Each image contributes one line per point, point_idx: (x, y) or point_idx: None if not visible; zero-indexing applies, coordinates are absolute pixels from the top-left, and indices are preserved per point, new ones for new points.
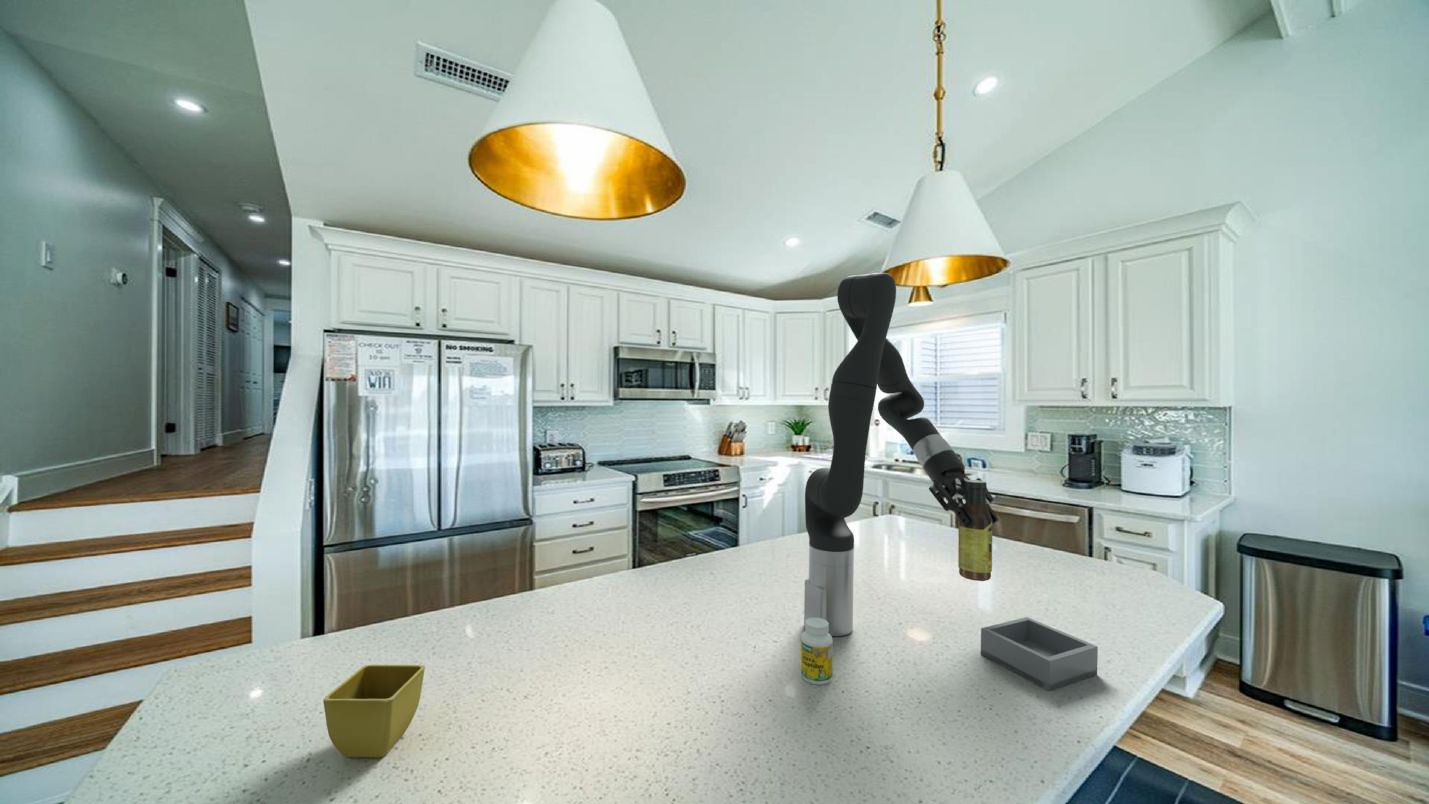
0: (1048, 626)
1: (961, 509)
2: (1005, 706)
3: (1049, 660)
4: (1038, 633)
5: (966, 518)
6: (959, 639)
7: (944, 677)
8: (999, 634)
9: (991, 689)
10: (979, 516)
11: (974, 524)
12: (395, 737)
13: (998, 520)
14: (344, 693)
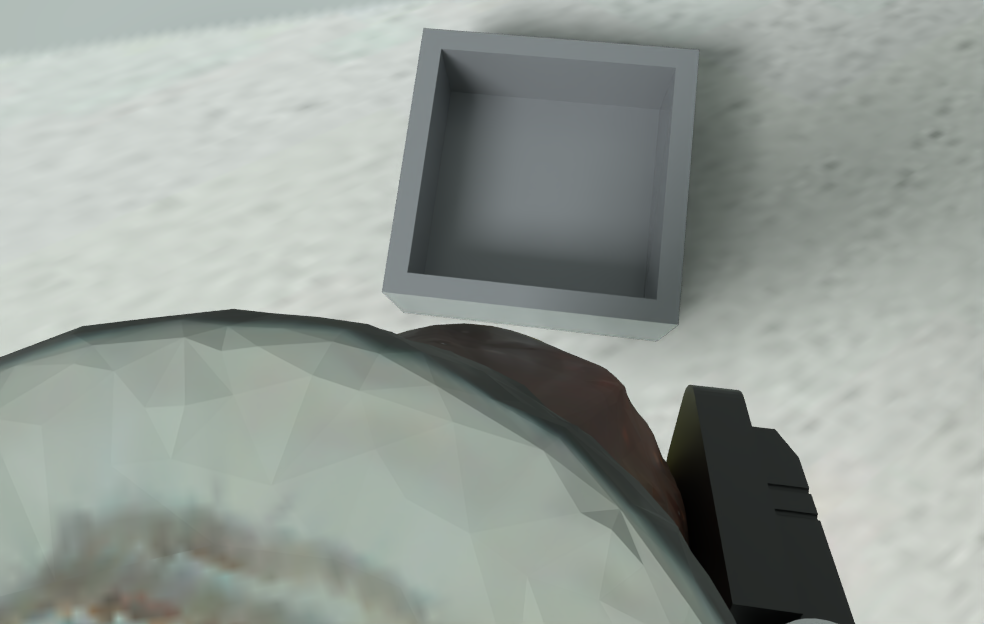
0: (402, 196)
1: (824, 616)
2: (882, 120)
3: (695, 53)
4: (420, 239)
5: (799, 472)
6: None
7: (923, 309)
8: (661, 253)
9: (836, 191)
10: (610, 376)
11: (682, 402)
12: None
13: None
14: None
